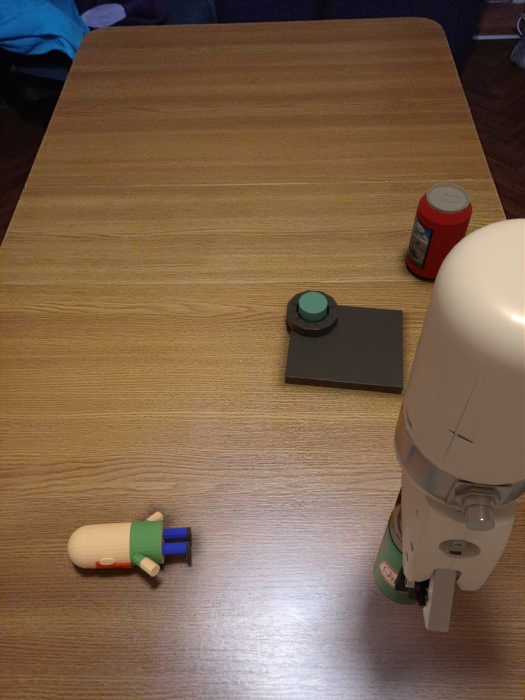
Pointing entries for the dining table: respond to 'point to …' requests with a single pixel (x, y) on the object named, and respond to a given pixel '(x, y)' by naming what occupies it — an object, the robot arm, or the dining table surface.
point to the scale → (346, 347)
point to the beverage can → (438, 227)
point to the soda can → (391, 560)
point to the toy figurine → (128, 544)
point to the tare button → (312, 306)
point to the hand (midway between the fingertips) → (415, 548)
